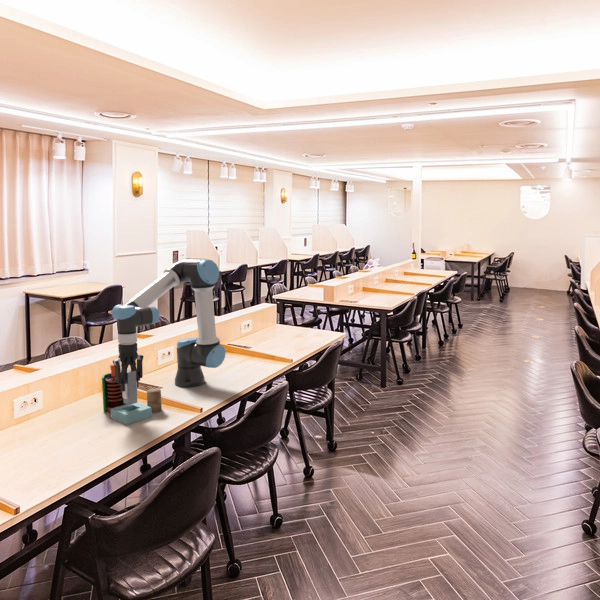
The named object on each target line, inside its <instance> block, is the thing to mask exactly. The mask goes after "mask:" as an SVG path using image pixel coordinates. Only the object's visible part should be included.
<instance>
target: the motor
mask: <svg viewBox="0 0 600 600" xmlns="http://www.w3.org/2000/svg"><path fill="white" fill-rule="evenodd" d="M109 369H110V372H108V373H105V374H103V375H102V376H101V389H102V406H103V407H102V408H103V412H104V413H107V412H108V413H110V414H111V409H112V408H115V407H119V406H122V405H125V403H124V400H123V395H122V391H121V386H120V384H119V383H116V379H115V367H114V364H113V363H112V364H111V363H110V364H109Z"/></svg>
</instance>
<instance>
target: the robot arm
mask: <svg viewBox="0 0 600 600" xmlns="http://www.w3.org/2000/svg"><path fill="white" fill-rule="evenodd" d="M217 264H218V263H216V262H215V261H214V260H212V259H207V258H194V257H193V258H191V257H186V258H182V259H181V260H178V261H176V262H174V263H173V264H171V265H170V266H168V267H167V268H165V269H164V271H163V274H161V276H159V277H157V278H156V279H155V280H154V281H152V282H151V283H150V284H149V285H147V286H146V287H145V288H143V289H142V290H140V292H138V293H137V294H136V295H134V296H133V297H131V298H130V299H129V300H128V301H126V302H125V303H124V304H122V303H121V304H117V305H115V306H114V307H113V308H112V310H111V316H112V318H113V320H115V321H116V325H117V326H116V327H117V342H118V345H117V347H118V354H119V355H118V358H116V359H114V360H112V364H114V367H115V379H116V383H119V384H120V386H121V391H122V395H123V398H124V399H128V391H127V384H126V383H125V382H126V375H127V374H126V372H127V370H128V368H129V367H130V369H131V370H135V371H136V383H137V389H138V388H139V385H140V384H139V382H140V381H141V379H143V373H144V372H143V360H144V355H142V354H138V343H137V342H138V333H137V332H138V331H137V330H138V329H137V328H139V327H144V326H151V325H153V324H157V323H158V321H160V319H161V318H160V316H161V315H160V311H159V309H158V308H157V307H156V306H151V305H152V304H154V303H155V302H156V301H157V300H158V299H160V298H161V297H162V296H163V295H164V294H166V293H167V292H168V291H170V290H171V289H172V288H174V287H178V286H180V285H181V284H182V283H190V288H191V289H192V291H194V300H195V310H196V311H195V312H196V321H197V322H196V323H197V333H198V337H187V338H183V339H180V340H178V341H177V343H176V355H177V356H176V362H177V370H176V373H175V378H174V384H175V386H177V387H181V388H186V387H187V388H191V387H198V386H202V385H204V383H205V380H206V379H205V375H204V373H203V370H202V367H206V368H209V369H210V368H212V369H216V368H218V367H220V366H221V365H222V364H223V363H224V361H225V358H226V353H227V351H226V348H225V347H224V346H223V345H222V344H221V342H220V337H218V336H217V330H216V328H217V327H216V319H215V305H214V293H213V292H214V291H213V289H214V288H215V287H216V283H217V282H218V280H219V277H220V269H219V266H218V265H217ZM138 394H139V393H138V392H137V397H138Z"/></svg>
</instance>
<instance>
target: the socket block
mask: <svg viewBox="0 0 600 600" xmlns="http://www.w3.org/2000/svg"><path fill="white" fill-rule="evenodd" d="M152 414H153V413H152V407H149V406H147V404H143V403H140V402H138V401H137V403H134V404H131V405H127V404H125V405H122V406H119V407H115V408H112V409H111V413H110V419H113V420H115V421H117V422H120V423H123V424H125V425H130V424H134V423H136V422H139V421H142V420H145V419H149V418H152V417H153V415H152Z"/></svg>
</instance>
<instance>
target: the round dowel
mask: <svg viewBox="0 0 600 600" xmlns="http://www.w3.org/2000/svg"><path fill="white" fill-rule="evenodd" d="M146 403H147V404H146V406H149V407H152V414H157V413H160V412H161V411H162V409H163V408H162V390H161V389H160V388H151V389H148V390H146Z"/></svg>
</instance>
